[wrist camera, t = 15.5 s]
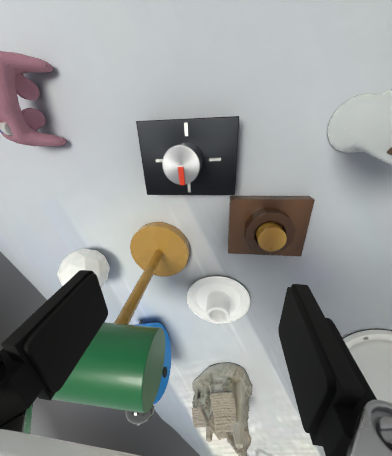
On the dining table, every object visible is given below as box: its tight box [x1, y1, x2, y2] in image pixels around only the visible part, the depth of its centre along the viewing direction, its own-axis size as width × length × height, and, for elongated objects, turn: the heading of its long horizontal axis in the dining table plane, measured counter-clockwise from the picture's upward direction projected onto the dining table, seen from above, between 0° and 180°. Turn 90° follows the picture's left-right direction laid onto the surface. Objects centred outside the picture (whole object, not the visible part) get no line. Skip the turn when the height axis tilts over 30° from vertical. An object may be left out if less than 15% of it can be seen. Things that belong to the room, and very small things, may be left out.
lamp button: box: [256, 222, 287, 251], centre depth 27 cm, size 4×4×2 cm
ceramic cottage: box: [192, 363, 252, 456], centre depth 45 cm, size 16×16×15 cm
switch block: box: [228, 196, 314, 256], centre depth 29 cm, size 11×9×4 cm
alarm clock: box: [125, 320, 171, 426], centre depth 38 cm, size 13×6×15 cm, turn 17°
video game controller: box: [0, 51, 66, 146], centre depth 24 cm, size 10×5×7 cm, turn 174°
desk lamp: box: [37, 222, 190, 413], centre depth 25 cm, size 10×10×22 cm
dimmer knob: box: [162, 143, 204, 185], centre depth 22 cm, size 4×4×5 cm
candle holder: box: [187, 276, 250, 324], centre depth 36 cm, size 12×12×4 cm
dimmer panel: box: [136, 116, 239, 195], centre depth 26 cm, size 12×9×3 cm
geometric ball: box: [57, 249, 110, 287], centre depth 34 cm, size 8×8×8 cm
